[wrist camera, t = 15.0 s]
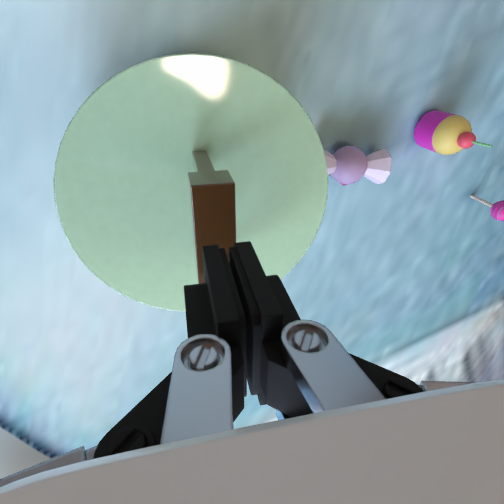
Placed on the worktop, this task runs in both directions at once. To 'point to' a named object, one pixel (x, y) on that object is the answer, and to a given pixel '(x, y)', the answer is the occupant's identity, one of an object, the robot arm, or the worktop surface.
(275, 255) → the lid
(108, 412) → the worktop surface
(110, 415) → the worktop surface
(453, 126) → the candies
